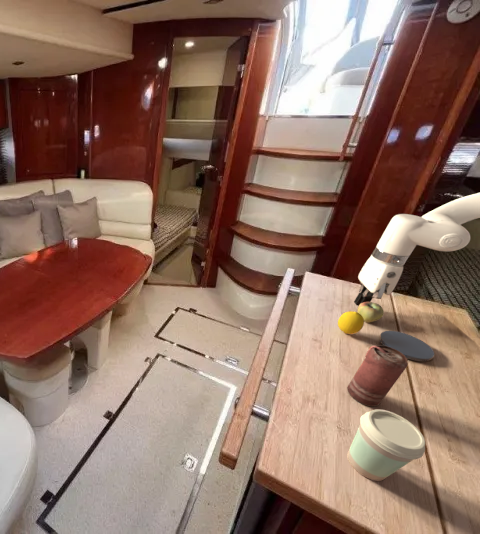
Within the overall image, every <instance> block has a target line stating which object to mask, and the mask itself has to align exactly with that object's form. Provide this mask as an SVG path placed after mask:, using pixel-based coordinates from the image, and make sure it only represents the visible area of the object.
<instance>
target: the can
mask: <svg viewBox="0 0 480 534" xmlns="http://www.w3.org/2000/svg"><path fill="white" fill-rule="evenodd" d="M408 360H409V359H407V358H406V357H405V355H403V354H402V353H401V352H399V351H397V350H396V349H393V348H391V347H387V346H384V345H383V344H380V345H372V346H370V347H369V349H368V350H367V351H366V353H365V357H364V359H363V361H362V362H361V364H360V366H359V367H358V369H357V371H356V372H355V374H354V375H353V377H352V378H351V380H350V381H349V383H348V385H347V387H346V389H347V393H348V394H349V396H350V397H351V398H352V399H353V400H354V401H356V402H357V403H359V404H361V405H364V406H368V407H375V406H376V407H377V406H379V405H380V404H381V402H382V401H383V400H384V399H385V397H386V396H387V394H389V392H390V391H391V389H392V388H393V386H394V385H395V384H396V382H398V380H399V378H400V377H401V376H402V374H403V373H404V372H405V370H406V369H407V368H408Z"/></svg>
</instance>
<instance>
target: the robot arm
mask: <svg viewBox="0 0 480 534" xmlns="http://www.w3.org/2000/svg"><path fill="white" fill-rule="evenodd" d="M476 219H480V192H477V193H473V194H469V195H466V196H461V197H459V198H456V199H454V200H451V201H449V202H446V203H445V204H442V205H441V206H438V207H436V208H434V209H433V210H431V211H428V212H427V213H425V214H423V215H422V216H418V215H414V214H410V213H409V214H408V213H398V214H395V215H393V217H392V218H391V219H390V221H389V222H388V224H387V226H386V228H385V230H384V231H383V233H382V235H381V236H380V238H379V241H377V244H376V246H375V248H374V249H373V251H372V253H371V254H370V257H369V258H368V259H367V260H366V262H365V263H364V264H363V266H362V268H361V270H360V271H359V273H358V276H357V278H358V280H359V283H360V287H359V290H358V294H357V296H356V297H355V299H354V301H353V303H354V305H356V306H357V307H358V306H359V305H360V304H361V303H363V302H372V301H373V299H377V300H382V298H383V295H384V294H385V295H386V296H390V295H391V294H392V293H393V292H394V290H395V288H396V287H397V284H398V282H399V280H400V279H401V276H402V274H403V271H404V265H405V263H406V262H407V260H408V259H409V258H410V256H411V254H412V252H413V251H414V250H415V248H416V247H417V246H420V247H424V248H427V249H430V250H434V251H438V252H455V251H459V250H462V249H463V248H465V247H466V246H467V245H469V243H470V241H471V234H470V232H469V231H468V230H467V228H466V227H464V226H462V225H463V224H465V223H468V222H471V221H473V220H476Z"/></svg>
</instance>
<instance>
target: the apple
mask: <svg viewBox="0 0 480 534" xmlns="http://www.w3.org/2000/svg"><path fill="white" fill-rule="evenodd" d="M357 312H358V313H359V314H360V315H361V316H362V317H363V319H364V323H373V322H376V321H379V320H380V319H381V318H382V317H383V316H384V309H383V307H382V305H381V304H379V303H376V302H372V301H371V302H363V303H361V304H360V305H359V306H357Z"/></svg>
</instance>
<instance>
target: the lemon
mask: <svg viewBox="0 0 480 534" xmlns="http://www.w3.org/2000/svg"><path fill="white" fill-rule="evenodd" d="M364 324H365V322H364V319H363V317H362V316H361V315H360V314H359V313H358V311H355V310H354V311H352V310H350V311H345V312H343V313H342V314H341V315H340V316H339V318H338V319H337V327H338V329H339V330H340V331H341V332H343V334H345V335H346V334H348V335H355V334H357V333H359V332H360V331H362V329H363V327H364Z"/></svg>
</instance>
